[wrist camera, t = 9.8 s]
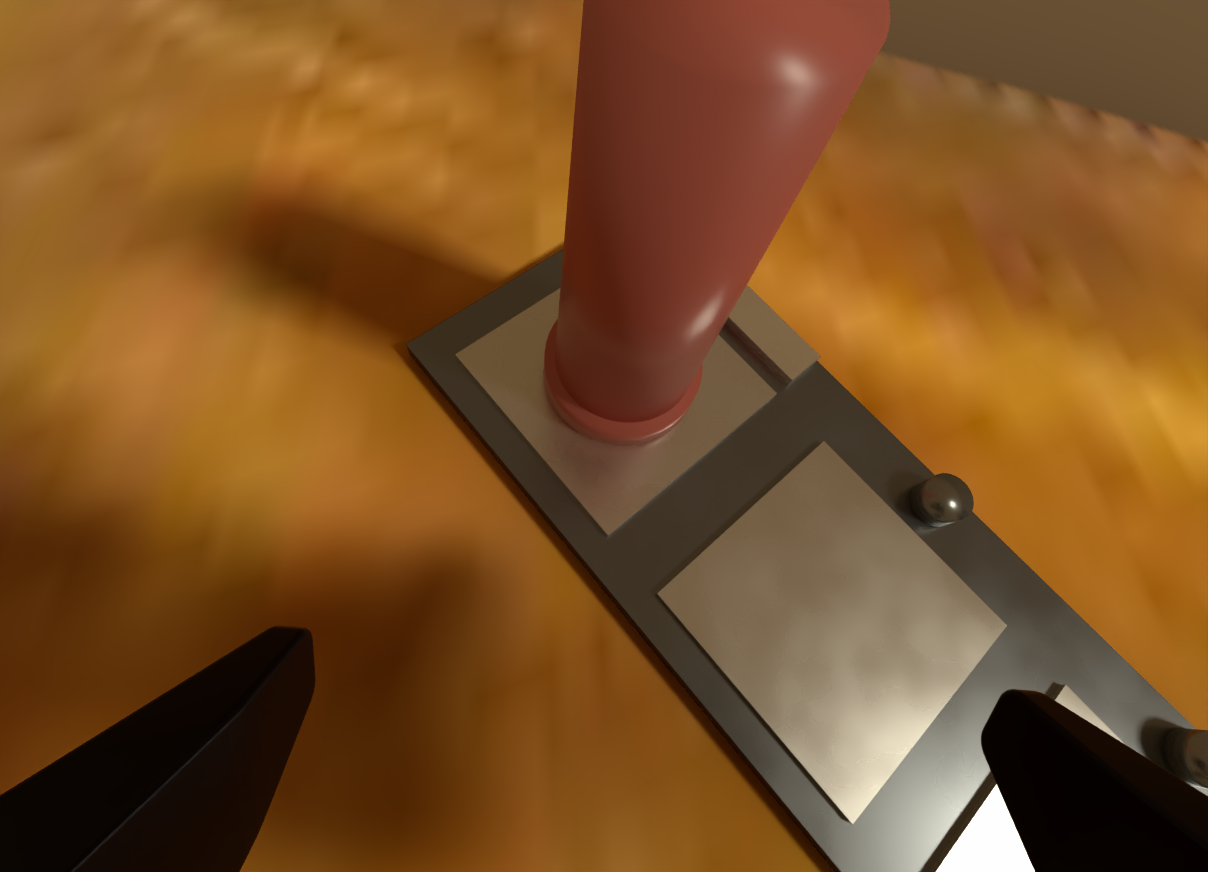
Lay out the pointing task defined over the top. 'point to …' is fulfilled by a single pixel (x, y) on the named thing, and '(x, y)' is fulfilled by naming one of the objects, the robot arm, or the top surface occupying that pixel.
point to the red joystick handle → (685, 186)
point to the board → (806, 584)
